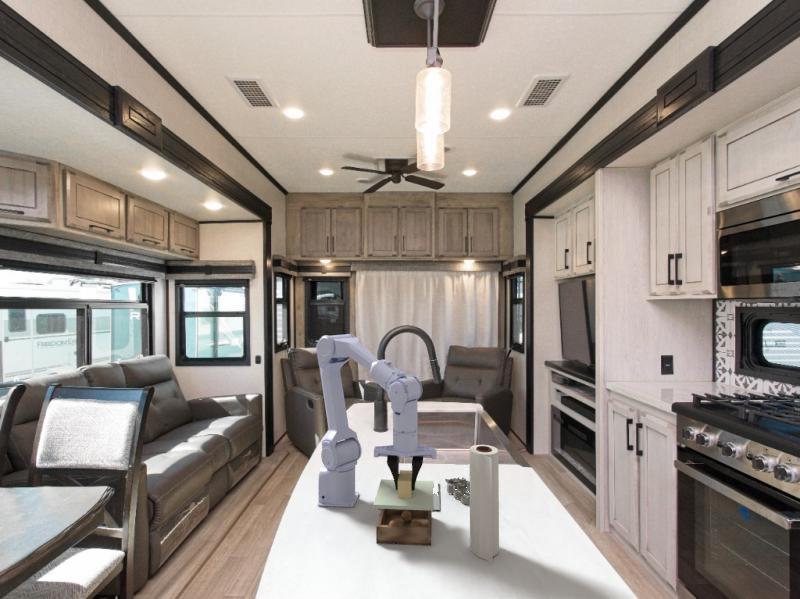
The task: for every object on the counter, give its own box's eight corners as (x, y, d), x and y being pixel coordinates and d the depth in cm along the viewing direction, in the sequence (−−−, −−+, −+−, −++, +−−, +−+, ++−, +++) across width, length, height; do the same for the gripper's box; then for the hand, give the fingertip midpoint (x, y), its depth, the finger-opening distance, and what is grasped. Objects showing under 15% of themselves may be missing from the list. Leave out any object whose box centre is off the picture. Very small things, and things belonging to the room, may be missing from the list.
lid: (373, 508, 89) (373, 487, 89) (381, 482, 102) (381, 464, 102) (433, 510, 88) (433, 489, 88) (433, 484, 100) (433, 465, 101)
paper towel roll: (475, 538, 91) (475, 441, 91) (502, 546, 88) (502, 446, 88) (463, 555, 84) (463, 451, 85) (492, 565, 81) (491, 457, 82)
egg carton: (487, 503, 107) (487, 487, 108) (463, 508, 105) (463, 492, 105) (466, 486, 117) (466, 472, 117) (443, 491, 114) (443, 476, 115)
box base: (376, 543, 89) (376, 526, 89) (383, 515, 101) (383, 500, 101) (431, 545, 88) (431, 529, 88) (431, 517, 100) (431, 502, 100)
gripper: (371, 434, 91) (371, 495, 91) (436, 435, 90) (436, 497, 90) (376, 424, 98) (376, 481, 98) (436, 426, 97) (436, 483, 97)
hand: (405, 488), depth 95 cm, fingers closed on lid, 3 cm apart
